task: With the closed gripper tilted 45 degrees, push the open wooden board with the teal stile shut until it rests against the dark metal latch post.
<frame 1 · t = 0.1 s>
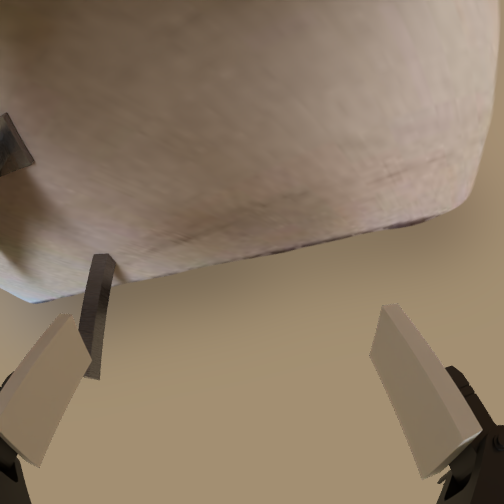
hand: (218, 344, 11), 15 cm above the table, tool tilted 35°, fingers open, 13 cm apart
hinge post: (2, 146, 16), on the table
latch post: (104, 258, 34), on the table
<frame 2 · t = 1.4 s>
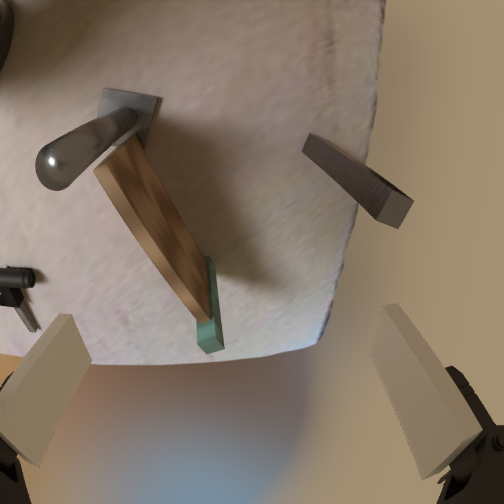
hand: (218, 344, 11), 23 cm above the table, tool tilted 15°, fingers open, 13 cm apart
wooden board: (167, 241, 26), point 7 cm above the table, hinge at -50.0°
hinge post: (124, 118, 24), on the table
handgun: (7, 293, 34), on the table
latch post: (314, 146, 30), on the table
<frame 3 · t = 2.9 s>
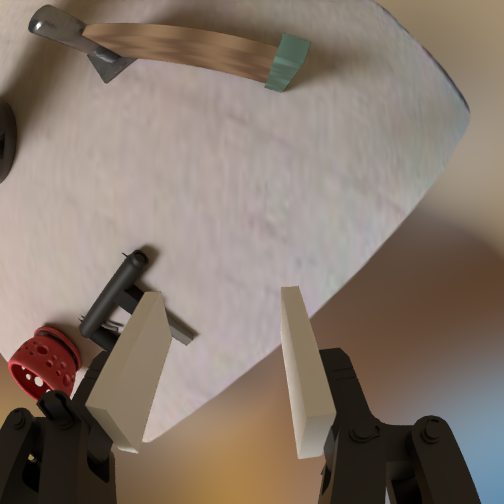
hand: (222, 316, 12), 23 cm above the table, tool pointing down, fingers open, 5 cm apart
plant pot: (61, 347, 43), on the table
wooden board: (189, 46, 20), point 7 cm above the table, hinge at -50.0°
hinge post: (114, 54, 25), on the table
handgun: (139, 316, 40), on the table
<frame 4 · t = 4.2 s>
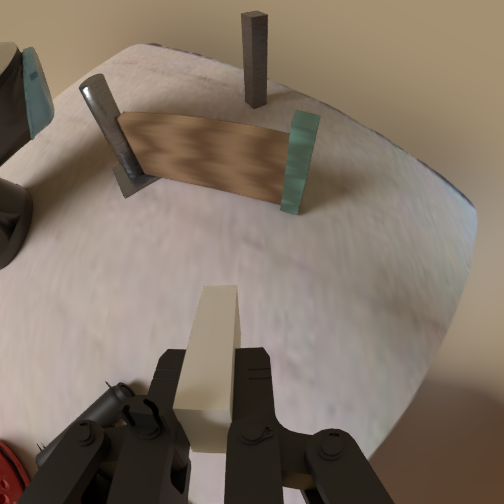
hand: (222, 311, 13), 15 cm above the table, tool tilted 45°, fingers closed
plant pot: (13, 473, 18), on the table
wooden board: (209, 151, 27), point 7 cm above the table, hinge at -50.0°
hinge post: (137, 172, 35), on the table
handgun: (115, 469, 21), on the table
latch post: (255, 102, 40), on the table
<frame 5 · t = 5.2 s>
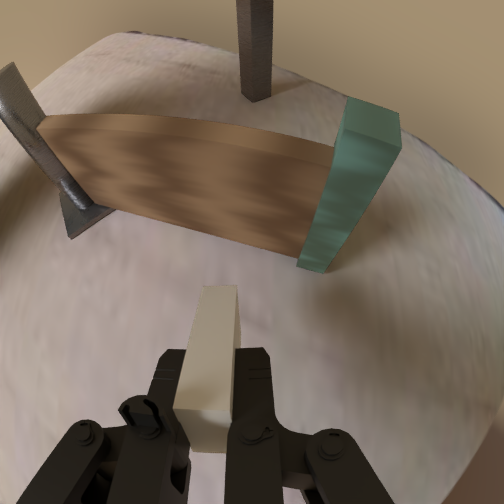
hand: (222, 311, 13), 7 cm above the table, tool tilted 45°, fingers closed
wooden board: (176, 174, 15), point 7 cm above the table, hinge at -50.0°
hinge post: (89, 200, 23), on the table
latch post: (256, 94, 28), on the table
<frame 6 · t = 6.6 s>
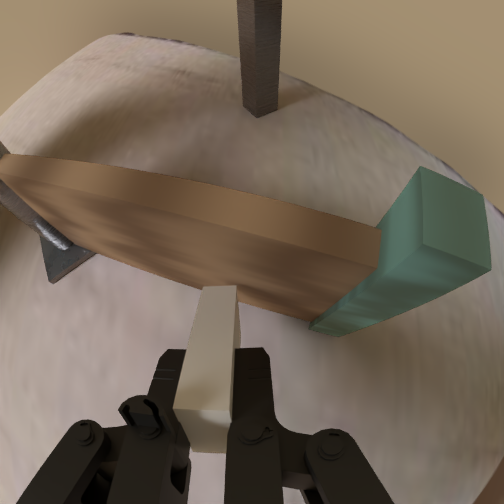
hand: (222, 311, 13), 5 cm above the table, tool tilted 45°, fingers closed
wooden board: (160, 235, 12), point 7 cm above the table, hinge at -49.8°, touching gripper
hinge post: (70, 237, 20), on the table
latch post: (259, 107, 25), on the table
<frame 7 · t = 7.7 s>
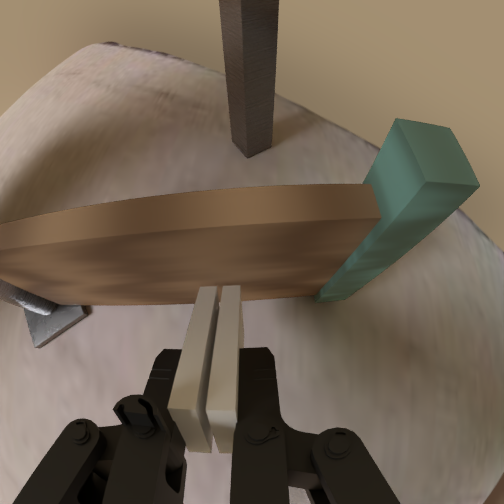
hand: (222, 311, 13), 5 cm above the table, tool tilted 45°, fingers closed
wooden board: (153, 262, 11), point 7 cm above the table, hinge at -29.3°, touching gripper
hinge post: (50, 299, 18), on the table
latch post: (251, 143, 23), on the table
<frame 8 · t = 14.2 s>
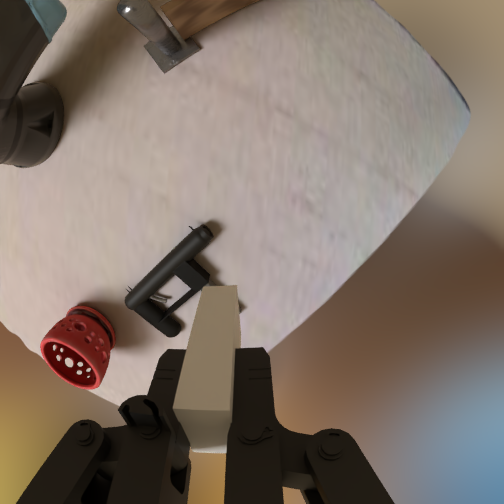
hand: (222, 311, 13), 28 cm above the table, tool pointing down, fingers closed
plant pot: (93, 327, 48), on the table
hinge post: (171, 47, 30), on the table
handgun: (190, 289, 45), on the table
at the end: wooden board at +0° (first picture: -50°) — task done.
